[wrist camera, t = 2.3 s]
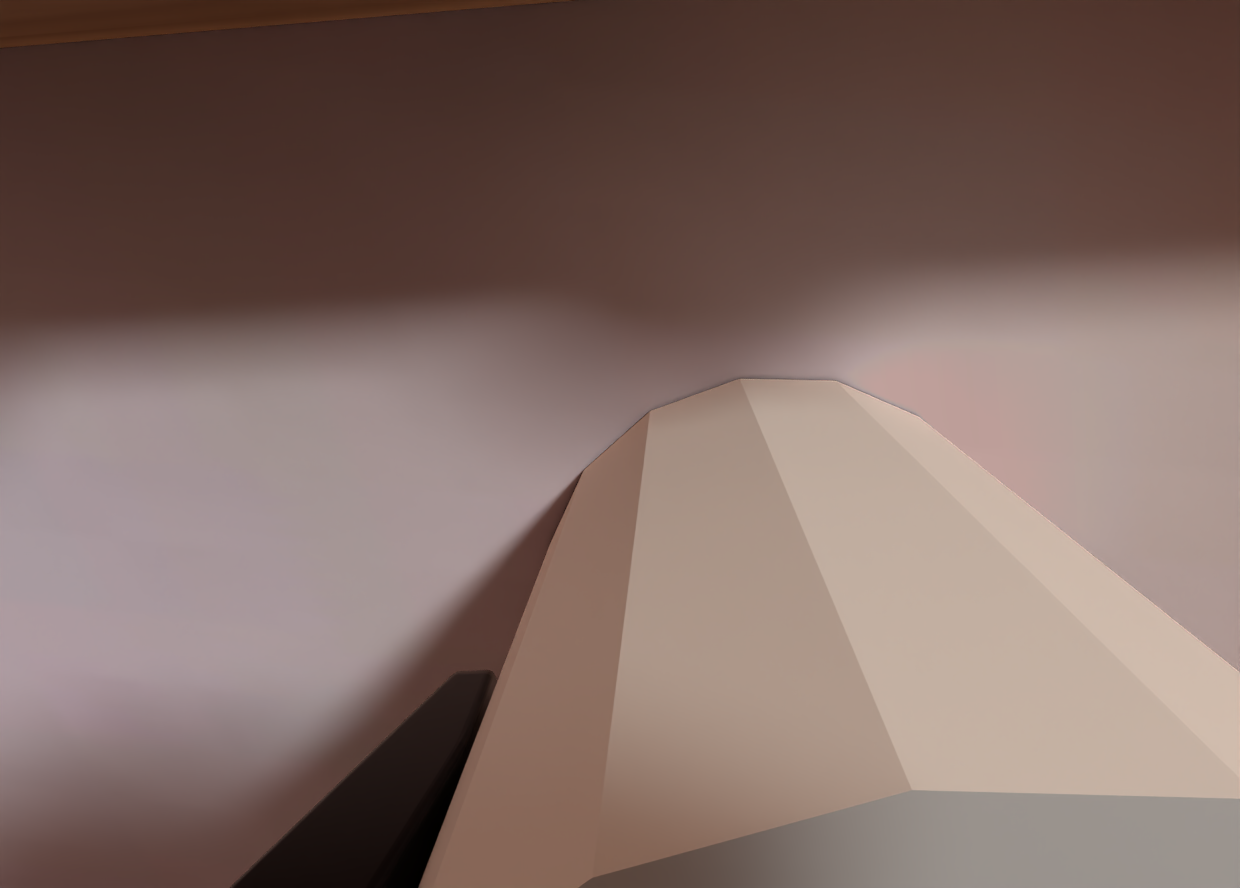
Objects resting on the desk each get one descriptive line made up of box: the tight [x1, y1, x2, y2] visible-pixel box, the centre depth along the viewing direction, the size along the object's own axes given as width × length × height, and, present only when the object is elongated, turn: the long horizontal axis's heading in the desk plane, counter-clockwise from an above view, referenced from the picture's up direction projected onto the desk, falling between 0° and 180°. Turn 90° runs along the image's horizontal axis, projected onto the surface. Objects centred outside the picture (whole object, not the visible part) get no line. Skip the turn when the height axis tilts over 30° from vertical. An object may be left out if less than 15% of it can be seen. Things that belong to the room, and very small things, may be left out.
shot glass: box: [418, 379, 1240, 888], centre depth 8 cm, size 7×7×7 cm
